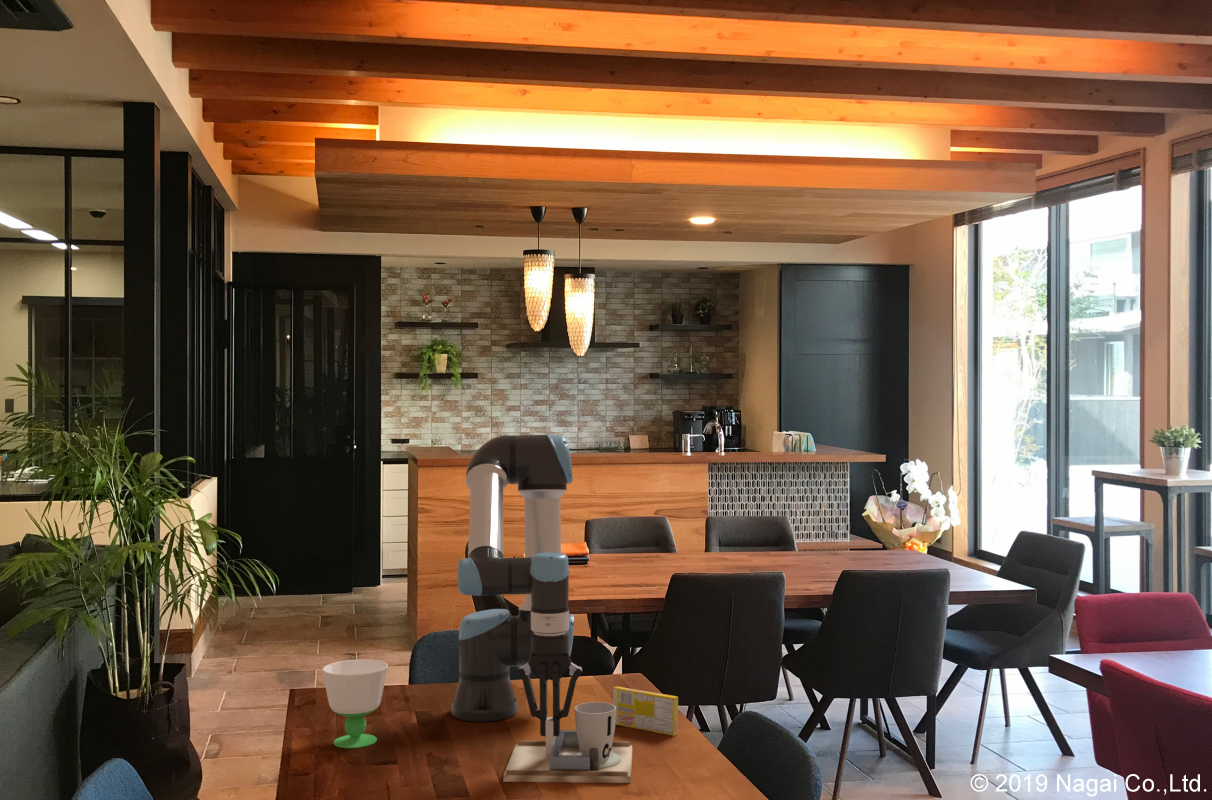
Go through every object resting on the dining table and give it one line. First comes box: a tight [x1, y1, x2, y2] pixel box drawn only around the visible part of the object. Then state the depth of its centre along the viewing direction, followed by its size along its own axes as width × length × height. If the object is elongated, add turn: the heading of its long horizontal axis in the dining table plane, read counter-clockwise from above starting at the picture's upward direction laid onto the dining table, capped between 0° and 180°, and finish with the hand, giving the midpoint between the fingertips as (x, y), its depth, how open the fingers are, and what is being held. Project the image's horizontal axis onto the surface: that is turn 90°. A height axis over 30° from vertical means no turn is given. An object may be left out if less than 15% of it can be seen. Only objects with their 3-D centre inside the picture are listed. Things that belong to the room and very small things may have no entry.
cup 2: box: [574, 701, 616, 763], centre depth 198 cm, size 8×8×10 cm
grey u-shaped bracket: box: [550, 729, 590, 771], centre depth 198 cm, size 8×16×3 cm, turn 178°
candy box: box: [612, 686, 679, 737], centre depth 222 cm, size 16×2×8 cm, turn 55°
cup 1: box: [321, 658, 389, 749], centre depth 214 cm, size 14×14×16 cm
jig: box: [502, 739, 633, 784], centre depth 198 cm, size 24×18×5 cm
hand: (550, 752), depth 198 cm, fingers closed
